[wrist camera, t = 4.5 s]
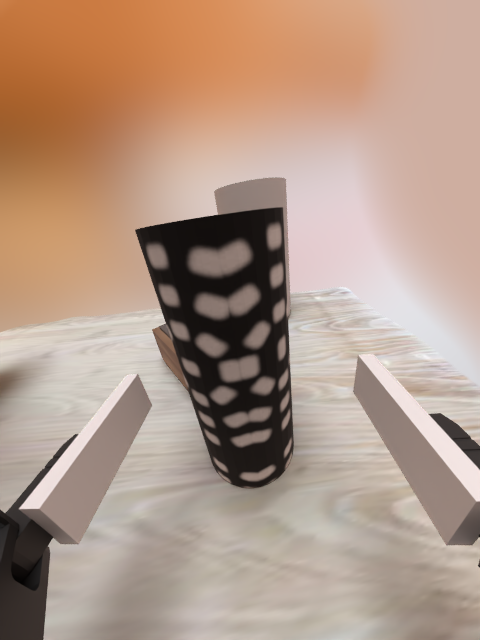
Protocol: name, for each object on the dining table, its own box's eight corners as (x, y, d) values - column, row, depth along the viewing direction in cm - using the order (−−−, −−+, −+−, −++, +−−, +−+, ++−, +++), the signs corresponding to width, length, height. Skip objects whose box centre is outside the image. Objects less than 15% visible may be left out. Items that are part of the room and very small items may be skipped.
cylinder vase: (290, 327, 40) (283, 173, 29) (228, 328, 43) (203, 190, 32) (291, 303, 50) (286, 184, 40) (242, 305, 54) (226, 196, 43)
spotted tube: (192, 453, 20) (107, 235, 12) (241, 396, 26) (209, 221, 17) (266, 513, 15) (214, 212, 7) (306, 426, 21) (306, 204, 12)
